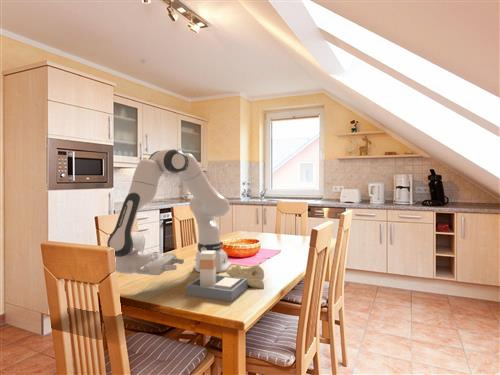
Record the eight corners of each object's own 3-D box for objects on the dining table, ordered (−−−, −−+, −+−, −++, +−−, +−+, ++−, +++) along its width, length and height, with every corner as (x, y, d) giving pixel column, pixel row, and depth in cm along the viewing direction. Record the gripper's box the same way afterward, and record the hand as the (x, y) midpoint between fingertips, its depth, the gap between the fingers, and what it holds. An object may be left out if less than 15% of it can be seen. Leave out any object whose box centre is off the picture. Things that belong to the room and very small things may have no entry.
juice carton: (203, 287, 135) (203, 250, 134) (216, 287, 134) (216, 250, 134) (199, 292, 129) (199, 253, 129) (213, 292, 129) (213, 253, 128)
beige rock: (271, 289, 140) (254, 263, 149) (273, 282, 135) (255, 255, 143) (241, 306, 134) (225, 277, 143) (241, 298, 129) (225, 269, 137)
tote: (206, 284, 141) (206, 273, 141) (247, 290, 134) (247, 278, 134) (186, 297, 126) (186, 285, 126) (231, 304, 119) (231, 291, 119)
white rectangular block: (225, 287, 134) (225, 277, 134) (240, 289, 132) (240, 279, 132) (214, 295, 125) (214, 284, 125) (230, 298, 122) (230, 286, 122)
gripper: (136, 262, 124) (170, 263, 122) (157, 250, 144) (187, 251, 143) (137, 278, 124) (171, 279, 122) (157, 264, 144) (187, 265, 143)
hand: (179, 264), depth 133 cm, fingers open, 8 cm apart
